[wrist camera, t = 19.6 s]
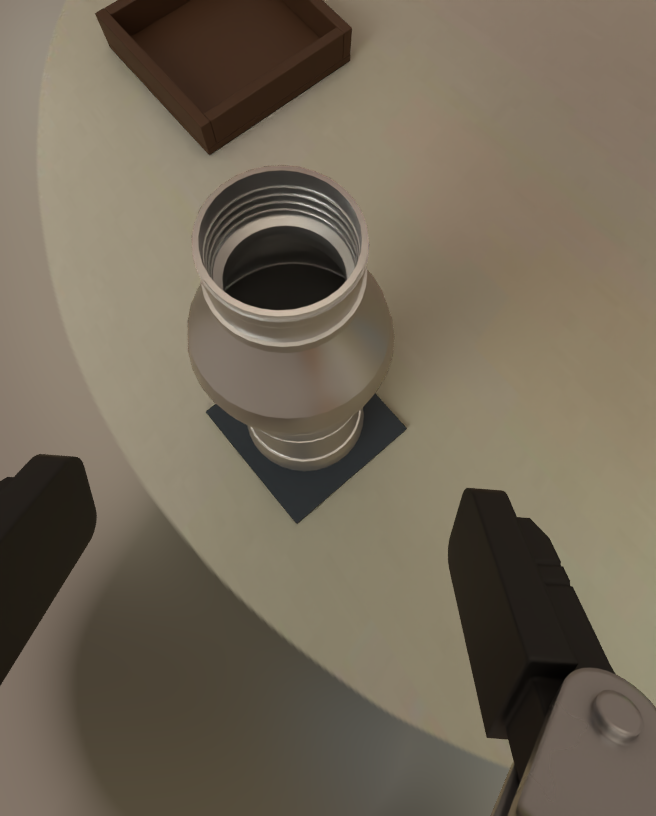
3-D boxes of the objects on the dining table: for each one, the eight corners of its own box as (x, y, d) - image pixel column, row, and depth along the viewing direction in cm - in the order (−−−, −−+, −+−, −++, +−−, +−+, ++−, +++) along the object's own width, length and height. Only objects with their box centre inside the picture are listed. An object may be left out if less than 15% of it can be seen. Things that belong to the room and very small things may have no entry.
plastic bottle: (360, 475, 28) (453, 390, 9) (249, 474, 28) (98, 385, 9) (359, 374, 30) (437, 112, 10) (254, 373, 30) (132, 104, 10)
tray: (209, 155, 34) (200, 127, 31) (109, 47, 36) (94, 12, 33) (350, 60, 36) (352, 27, 33) (249, -37, 38) (244, -74, 35)
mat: (296, 523, 28) (296, 524, 28) (206, 412, 29) (205, 411, 29) (406, 429, 29) (407, 428, 29) (315, 327, 31) (315, 326, 31)
